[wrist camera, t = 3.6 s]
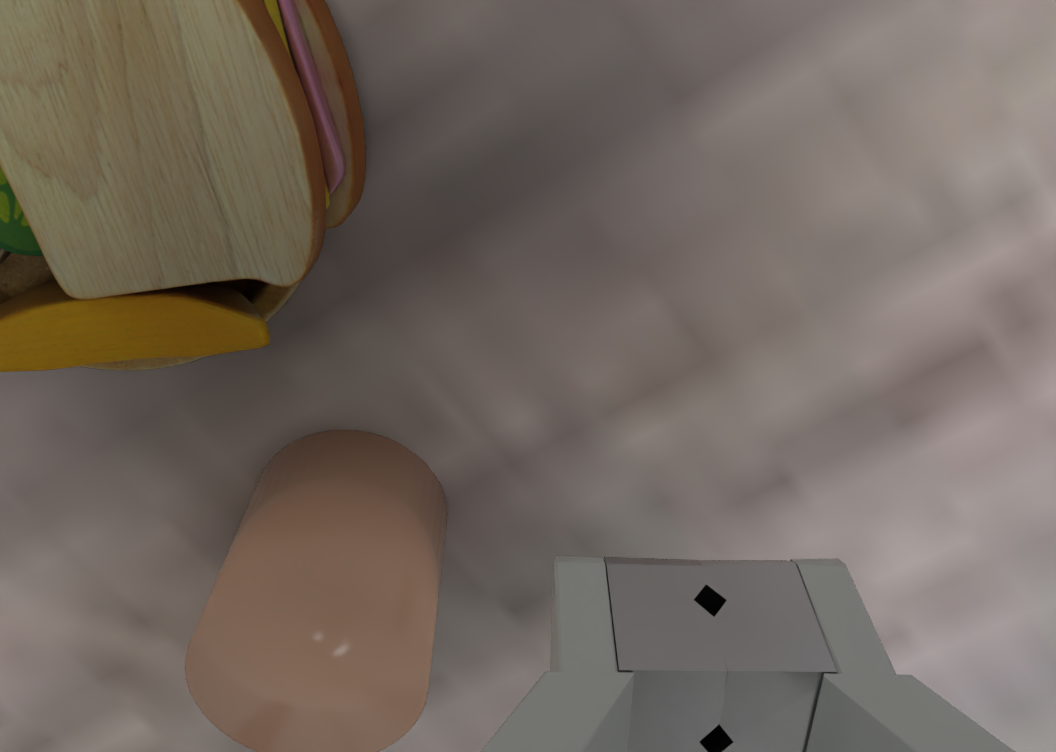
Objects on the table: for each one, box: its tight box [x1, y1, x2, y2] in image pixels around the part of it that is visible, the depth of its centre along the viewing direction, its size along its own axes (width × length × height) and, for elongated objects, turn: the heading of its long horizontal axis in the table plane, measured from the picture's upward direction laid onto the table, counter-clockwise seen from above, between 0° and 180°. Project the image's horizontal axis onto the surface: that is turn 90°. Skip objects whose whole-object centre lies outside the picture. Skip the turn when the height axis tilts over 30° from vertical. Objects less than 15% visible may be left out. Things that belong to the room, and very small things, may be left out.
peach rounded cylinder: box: [185, 430, 448, 752], centre depth 27 cm, size 6×6×7 cm
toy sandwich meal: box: [0, 0, 366, 372], centre depth 22 cm, size 12×14×5 cm
